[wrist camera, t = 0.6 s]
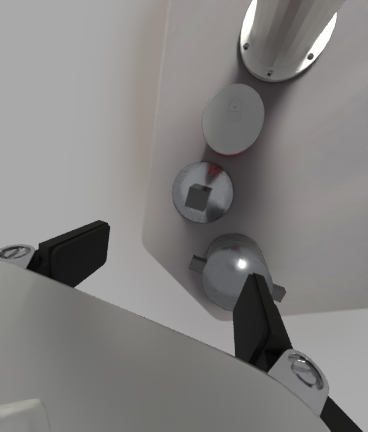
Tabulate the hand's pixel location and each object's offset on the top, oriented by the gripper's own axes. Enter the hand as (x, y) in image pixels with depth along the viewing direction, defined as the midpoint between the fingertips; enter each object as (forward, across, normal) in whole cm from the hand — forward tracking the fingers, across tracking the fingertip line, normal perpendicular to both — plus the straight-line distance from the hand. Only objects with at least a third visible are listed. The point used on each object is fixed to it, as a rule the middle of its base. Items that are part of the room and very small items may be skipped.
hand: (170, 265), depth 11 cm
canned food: (+26, 0, -13) cm, 29 cm away
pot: (+27, -9, +11) cm, 31 cm away
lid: (+27, +2, -1) cm, 27 cm away
